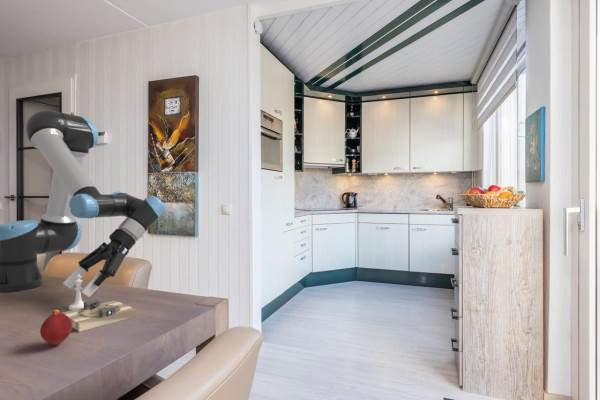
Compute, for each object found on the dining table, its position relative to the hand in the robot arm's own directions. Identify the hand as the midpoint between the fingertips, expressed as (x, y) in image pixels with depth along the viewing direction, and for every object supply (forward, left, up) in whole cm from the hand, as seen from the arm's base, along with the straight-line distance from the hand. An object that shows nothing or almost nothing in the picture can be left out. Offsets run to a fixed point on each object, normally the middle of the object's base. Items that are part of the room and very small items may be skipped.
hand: (75, 290), depth 100 cm
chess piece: (0, +1, -6) cm, 6 cm away
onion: (+24, -12, -6) cm, 27 cm away
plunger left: (+9, +1, -3) cm, 10 cm away
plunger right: (+18, +1, -3) cm, 18 cm away
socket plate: (+14, +1, -5) cm, 15 cm away
